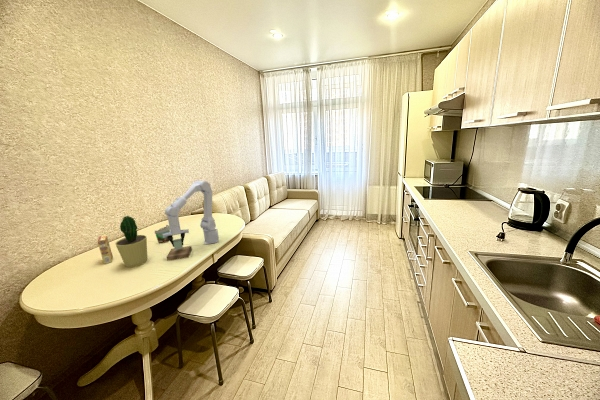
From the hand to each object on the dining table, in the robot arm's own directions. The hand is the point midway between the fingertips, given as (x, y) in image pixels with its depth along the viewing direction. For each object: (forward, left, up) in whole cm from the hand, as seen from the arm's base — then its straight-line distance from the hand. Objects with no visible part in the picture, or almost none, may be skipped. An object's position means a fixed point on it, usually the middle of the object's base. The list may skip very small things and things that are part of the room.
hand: (178, 245), depth 151 cm
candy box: (+43, -7, -7) cm, 44 cm away
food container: (+15, -29, -7) cm, 33 cm away
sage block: (0, 0, -2) cm, 2 cm away
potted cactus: (+24, +2, -7) cm, 25 cm away
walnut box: (0, 0, -7) cm, 7 cm away
